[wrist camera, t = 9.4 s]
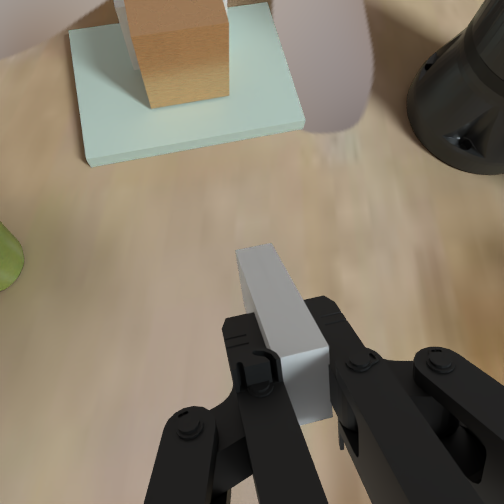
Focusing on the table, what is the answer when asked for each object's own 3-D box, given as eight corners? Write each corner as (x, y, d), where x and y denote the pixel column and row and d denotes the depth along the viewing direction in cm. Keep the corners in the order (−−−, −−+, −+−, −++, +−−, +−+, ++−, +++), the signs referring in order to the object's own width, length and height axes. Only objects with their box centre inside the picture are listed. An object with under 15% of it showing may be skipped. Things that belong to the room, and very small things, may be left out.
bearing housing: (266, 13, 49) (273, -67, 40) (303, 128, 44) (320, 66, 36) (73, 41, 46) (37, -38, 38) (91, 167, 41) (54, 109, 33)
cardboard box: (203, -2, 47) (197, -90, 38) (229, 95, 43) (229, 22, 34) (131, 8, 46) (108, -80, 37) (151, 108, 42) (130, 36, 33)
